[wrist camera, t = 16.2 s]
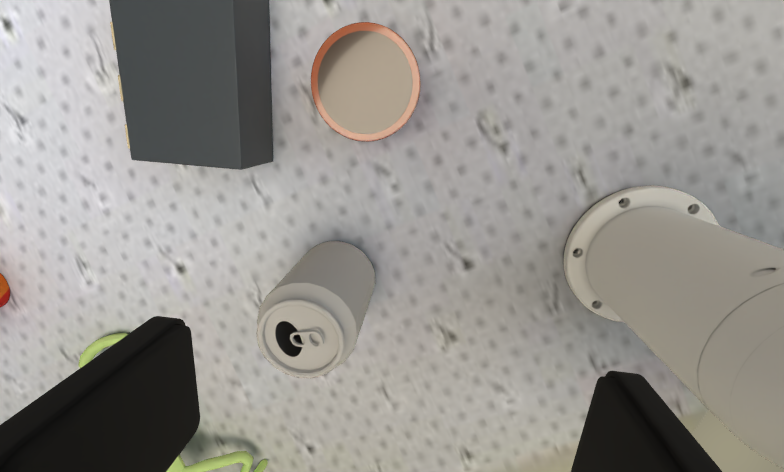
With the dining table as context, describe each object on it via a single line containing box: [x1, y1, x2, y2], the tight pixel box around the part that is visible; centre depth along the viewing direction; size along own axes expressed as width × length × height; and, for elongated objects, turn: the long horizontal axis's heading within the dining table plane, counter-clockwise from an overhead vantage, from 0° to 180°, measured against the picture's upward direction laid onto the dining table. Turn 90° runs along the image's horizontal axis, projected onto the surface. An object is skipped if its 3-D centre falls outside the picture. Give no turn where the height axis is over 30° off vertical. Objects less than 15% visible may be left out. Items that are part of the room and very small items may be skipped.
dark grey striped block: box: [109, 0, 273, 170], centre depth 29 cm, size 9×14×6 cm, turn 176°
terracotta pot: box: [311, 22, 421, 141], centre depth 28 cm, size 7×7×7 cm
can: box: [257, 241, 375, 378], centre depth 31 cm, size 8×8×12 cm
